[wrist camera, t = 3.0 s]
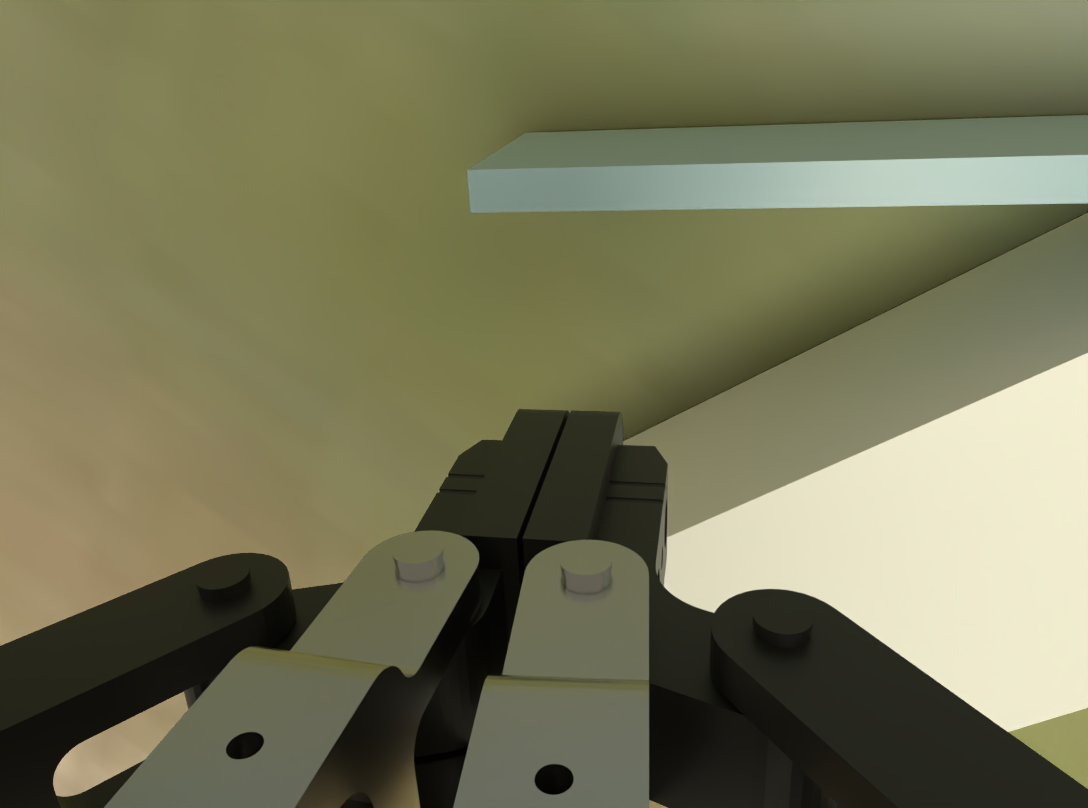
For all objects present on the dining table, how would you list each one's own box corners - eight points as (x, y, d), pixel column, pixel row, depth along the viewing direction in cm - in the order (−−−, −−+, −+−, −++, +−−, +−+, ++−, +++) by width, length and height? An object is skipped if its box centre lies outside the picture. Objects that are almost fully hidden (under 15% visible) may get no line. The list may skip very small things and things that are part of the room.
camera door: (527, 169, 28) (469, 217, 21) (525, 128, 27) (465, 165, 21) (1221, 152, 24) (1405, 204, 18) (1232, 106, 24) (1425, 141, 17)
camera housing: (681, 664, 35) (669, 856, 27) (553, 475, 33) (500, 625, 25) (1302, 428, 27) (1541, 600, 19) (1195, 159, 25) (1416, 229, 17)
